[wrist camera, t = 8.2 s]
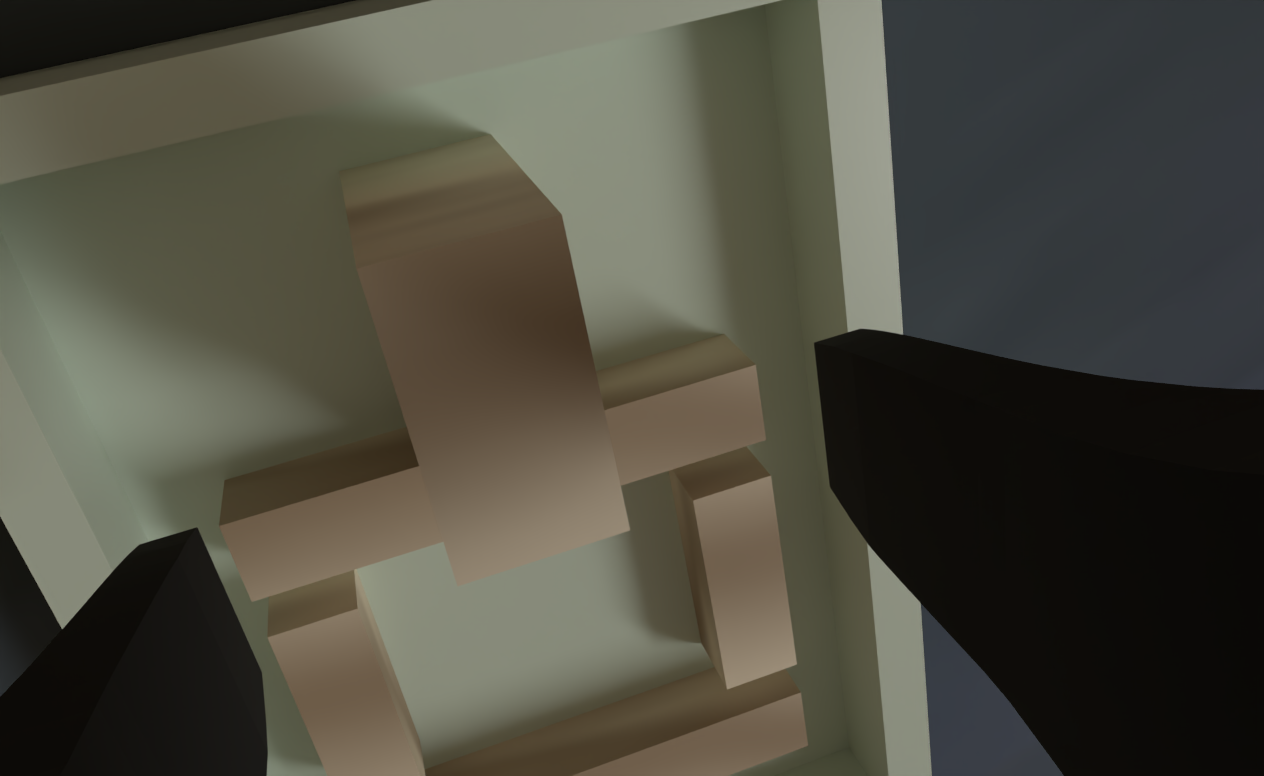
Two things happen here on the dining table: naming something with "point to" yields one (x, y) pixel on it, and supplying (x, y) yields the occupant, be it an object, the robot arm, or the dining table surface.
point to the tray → (351, 351)
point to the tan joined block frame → (516, 486)
